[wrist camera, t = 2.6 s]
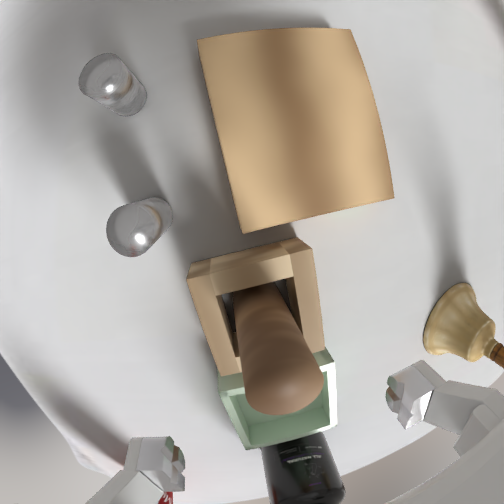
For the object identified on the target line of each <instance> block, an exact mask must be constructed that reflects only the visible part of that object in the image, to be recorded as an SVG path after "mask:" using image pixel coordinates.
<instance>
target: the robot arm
mask: <svg viewBox="0 0 504 504" xmlns="http://www.w3.org/2000/svg"><path fill="white" fill-rule="evenodd" d="M387 384H388V385H389V388H388V389H387V391H386V401H387V404H388V406H389V408H390V409H391V411H392V412H395V413H398V418H397V419H398V420H399V422H400V423H401V424H402V426H403V427H404V429H405V430H406V429H408V428H410V427H412V426H413V425H415V424H417V423H419V422H421V421H422V420H423V421H425V422H427V423H430V424H432V425H435V426H437V427H440V428H442V429H445V430H447V431H450V432H453V433H456V434H458V435H460V436H459V437H458V439H457V441H456V442H455V444H454V449H455V450H456V451H457V453H458V454H459V455H460V458H458V459H457V460H456V461H454V462H453V463H452V464H450V465H449V466H448V467H446V468H445V469H443V470H442V471H440V472H439V473H437V474H436V475H434V476H433V477H431V478H430V479H428V480H427V481H425V482H423V483H422V484H420V485H418V486H417V487H415V488H413V489H412V490H410V491H408V492H406V493H404V494H403V495H401V496H399V497H397V498H395V499H393V500H391V501H389V502H387V503H385V504H504V396H503V395H502V394H501V393H500V392H499V391H498V390H497V389H491V388H486V387H481V386H475V385H470V384H465V383H460V382H455V381H450V380H449V381H447V382H446V381H445V380H444V379H443V378H442V377H441V376H440V375H439V374H438V373H437V372H436V371H435V370H433V369H432V368H431V367H430V366H429V365H428V364H427V363H426V362H425V361H423V360H420V361H418V362H416V363H414V364H413V365H411V366H408V367H406V368H404V369H403V370H401V371H399V372H397V373H395V374H393V375H391V376H389V378H388V381H387ZM184 469H185V460H184V455H183V453H182V451H181V450H180V448H179V447H177V446H175V445H174V441H173V439H172V438H171V437H170V436H168V437H134V438H132V439H131V440H130V442H129V447H128V451H127V456H126V460H125V465H124V470H120V471H119V472H118V473H117V474H116V475H115V476H114V477H113V478H112V479H111V480H110V481H109V482H108V483H107V484H106V485H105V486H104V487H102V488H101V489H100V490H99V491H98V492H97V493H96V494H95V495H94V496H93V497H92V498H91V499H90V500H89V501H87V502H86V504H157V503H158V501H159V500H160V498H161V497H162V495H163V494H164V492H177V491H185V477H184V476H183V475H182V474H181V472H182V471H183V470H184Z"/></svg>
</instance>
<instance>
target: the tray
mask: <svg viewBox="0 0 504 504" xmlns="http://www.w3.org/2000/svg"><path fill="white" fill-rule="evenodd" d="M312 354H313V356H314V358H315V360H316V362H317V364H318V365H319V367H320V369H321V371H322V373H323V376H324V384H323V388H322V390H321V392H320V394H319V395H318V397H317V398H316V399H315V400H314V401H313V402H312V403H310V404H309V405H308V406H306V407H304V408H303V409H301V410H298V411H296V412H293V413H289V414H284V415H268V414H263V413H261V412H258V411H256V410H255V409H253V408H252V407H251V406H250V405H249V404H248V402H247V400H246V396H245V389H244V382H243V375H242V372H240V373H235V374H231V375H226V376H221V375H220V373H219V370H218V393H219V395H220V398H221V400H222V402H223V404H224V406H225V409H226V411H227V413H228V415H229V417H230V419H231V421H232V423H233V425H234V427H235V430H236V432H237V434H238V436H239V438H240V440H241V442H242V444H243V446H244V447H245V449H246V450H250V449H256V448H261V447H265V446H270V445H274V444H278V443H282V442H286V441H290V440H294V439H298V438H301V437H305V436H308V435H311V434H315V433H318V432H321V431H324V430H327V429H330V428H333V427H336V426H337V403H336V379H335V362H334V360H333V358H332V357H331V355H330V354H329V352H328V350H327V349H326V347H325V350H322V351H318V352H315V353H312Z"/></svg>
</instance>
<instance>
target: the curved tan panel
mask: <svg viewBox="0 0 504 504" xmlns="http://www.w3.org/2000/svg"><path fill="white" fill-rule="evenodd" d="M197 44H198V51H199V57H200V61H201V65H202V70H203V74H204V78H205V82H206V87H207V91H208V95H209V100H210V104H211V108H212V112H213V117H214V121H215V125H216V129H217V133H218V138H219V142H220V146H221V150H222V154H223V159H224V163H225V167H226V171H227V175H228V179H229V184H230V188H231V192H232V196H233V200H234V204H235V208H236V213H237V217H238V221H239V225H240V228H241V231H242V233H243V234H245V233H248V232H252V231H256V230H260V229H265V228H269V227H273V226H277V225H281V224H285V223H289V222H293V221H297V220H301V219H306V218H310V217H314V216H318V215H323V214H327V213H331V212H335V211H340V210H344V209H348V208H353V207H357V206H362V205H366V204H370V203H375V202H379V201H384V200H389V199H393V198H394V192H393V184H392V178H391V171H390V166H389V160H388V155H387V149H386V144H385V140H384V135H383V131H382V126H381V122H380V118H379V114H378V110H377V106H376V103H375V99H374V95H373V92H372V89H371V85H370V82H369V79H368V76H367V73H366V70H365V67H364V64H363V61H362V58H361V55H360V53H359V50H358V47H357V45H356V42H355V40H354V37H353V35H352V32H351V30H349V29H335V28H279V29H265V30H254V31H246V32H238V33H231V34H225V35H219V36H213V37H208V38H203V39H199V40H197Z"/></svg>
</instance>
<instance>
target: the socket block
mask: <svg viewBox="0 0 504 504" xmlns="http://www.w3.org/2000/svg"><path fill="white" fill-rule="evenodd" d="M281 279H285V280H286V285H287V290H288V296H289V301H290V307H291V312H292V316H293V318H294V320H295V322H296V324H297V326H298V328H299V330H300V331H301V333H302V335H303V337H304V339H305V341H306V343H307V345H308V346H309V348H310V350H311V352H312V353H315V352H318V351H322V350H325V343H324V334H323V325H322V316H321V308H320V300H319V292H318V285H317V277H316V271H315V264H314V257H313V251H312V248H311V247H310V246H308V245H307V244H306V243H304V242H303V241H302V240H300V239H299V238H298V237H296V238H292V239H288V240H284V241H280V242H275V243H271V244H267V245H263V246H259V247H255V248H251V249H247V250H243V251H239V252H235V253H231V254H226V255H222V256H218V257H214V258H210V259H206V260H202V261H198V262H194V263H191V266H190V269H189V273H188V276H187V279H186V280H187V283H188V287H189V290H190V293H191V296H192V299H193V302H194V305H195V308H196V311H197V314H198V316H199V319H200V322H201V325H202V328H203V331H204V333H205V336H206V339H207V342H208V344H209V347H210V350H211V352H212V355H213V358H214V360H215V363H216V365H217V368H218V370H219V373H220V375H221V376H226V375H231V374H235V373H240V372H242V368H241V361H240V354H239V346H238V339H237V332H234V333H233V332H232V329H231V326H230V322H229V319H228V316H227V312H226V309H225V306H224V302H223V299H222V296H221V294H225V293H229V292H234V291H238V290H242V289H246V288H250V287H254V286H258V285H262V284H266V283H270V282H274V281H277V280H281Z"/></svg>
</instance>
